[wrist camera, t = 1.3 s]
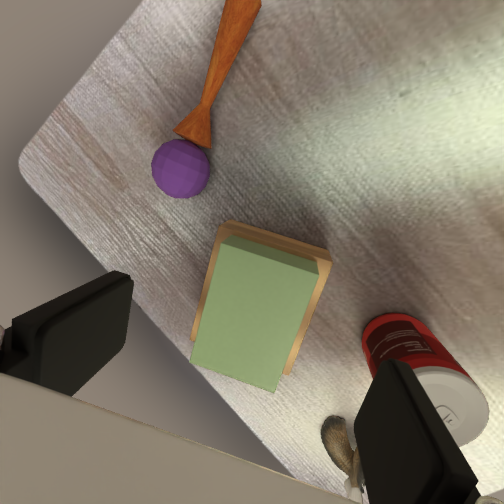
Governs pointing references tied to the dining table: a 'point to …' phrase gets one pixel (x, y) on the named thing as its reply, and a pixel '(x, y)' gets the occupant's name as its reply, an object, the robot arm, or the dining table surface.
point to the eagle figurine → (344, 456)
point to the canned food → (429, 372)
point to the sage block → (253, 311)
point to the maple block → (281, 244)
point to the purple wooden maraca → (203, 110)
